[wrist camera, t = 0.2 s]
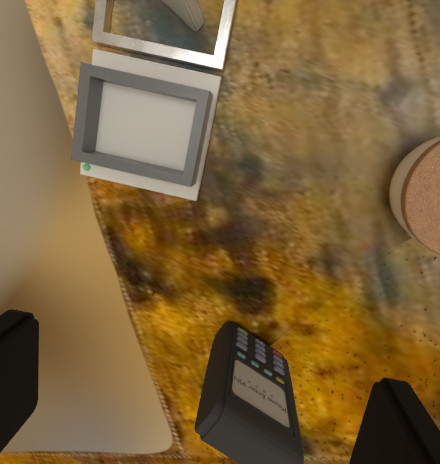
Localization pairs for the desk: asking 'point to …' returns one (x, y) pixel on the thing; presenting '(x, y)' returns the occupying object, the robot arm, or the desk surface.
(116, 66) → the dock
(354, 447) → the robot arm
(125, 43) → the rectangular frame tray
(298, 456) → the card reader
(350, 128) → the desk surface
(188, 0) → the hard drive
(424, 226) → the lidded jar
